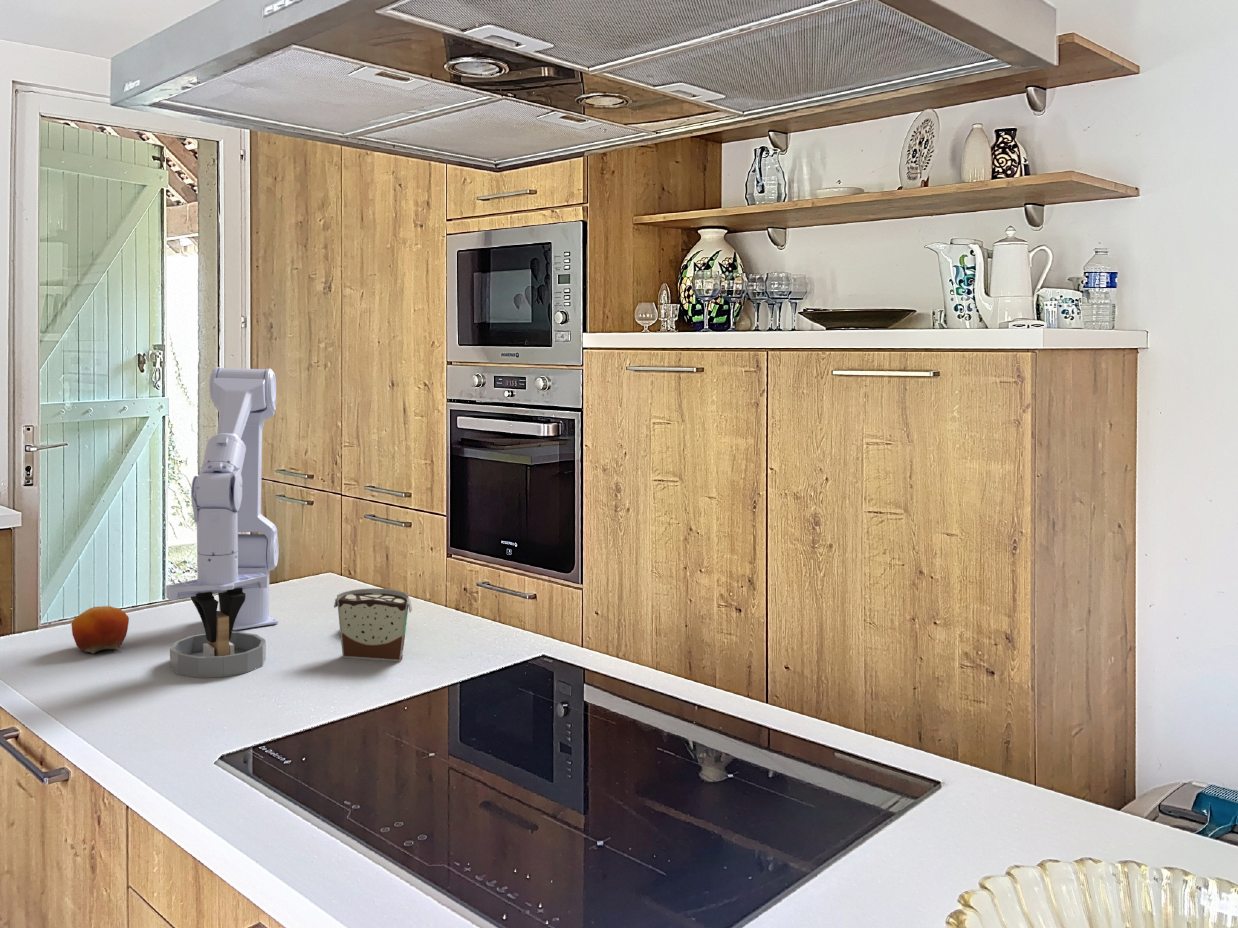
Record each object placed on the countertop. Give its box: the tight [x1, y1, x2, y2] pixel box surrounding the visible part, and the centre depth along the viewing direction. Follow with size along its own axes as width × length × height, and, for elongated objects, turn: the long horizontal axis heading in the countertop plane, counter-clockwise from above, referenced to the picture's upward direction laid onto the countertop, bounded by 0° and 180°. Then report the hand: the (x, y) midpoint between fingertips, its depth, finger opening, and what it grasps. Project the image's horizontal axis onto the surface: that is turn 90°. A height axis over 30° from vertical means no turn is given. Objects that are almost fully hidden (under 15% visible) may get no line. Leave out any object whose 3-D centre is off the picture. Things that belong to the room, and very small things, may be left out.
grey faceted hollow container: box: [169, 631, 267, 679], centre depth 160 cm, size 13×13×3 cm
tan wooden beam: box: [209, 610, 229, 656], centre depth 160 cm, size 4×2×7 cm, turn 41°
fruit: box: [70, 605, 130, 655], centre depth 164 cm, size 8×8×8 cm
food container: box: [333, 588, 413, 662], centre depth 167 cm, size 12×6×10 cm, turn 84°
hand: (218, 639), depth 160 cm, fingers closed on tan wooden beam, 2 cm apart
